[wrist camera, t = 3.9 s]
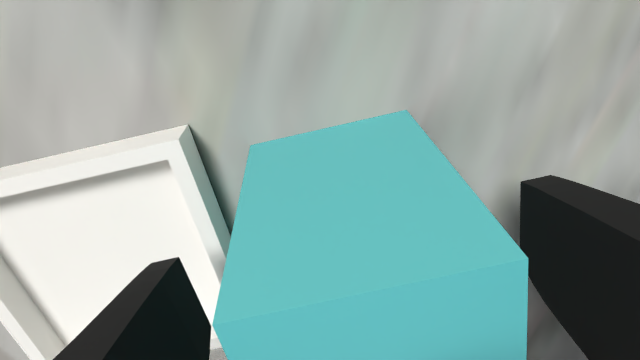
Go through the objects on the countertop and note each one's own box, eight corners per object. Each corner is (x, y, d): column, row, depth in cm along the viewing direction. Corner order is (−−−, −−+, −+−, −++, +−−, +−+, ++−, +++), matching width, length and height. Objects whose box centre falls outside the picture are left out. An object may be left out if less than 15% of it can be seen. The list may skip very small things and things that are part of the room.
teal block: (406, 109, 10) (528, 258, 5) (422, 238, 12) (524, 447, 7) (250, 145, 11) (211, 325, 5) (289, 267, 12) (289, 493, 7)
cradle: (187, 124, 10) (178, 139, 9) (260, 314, 13) (258, 339, 12) (-61, 181, 10) (-93, 201, 10) (64, 355, 13) (48, 383, 12)
